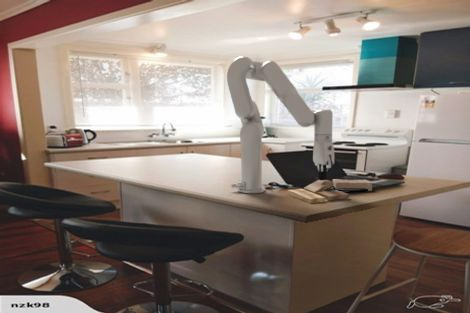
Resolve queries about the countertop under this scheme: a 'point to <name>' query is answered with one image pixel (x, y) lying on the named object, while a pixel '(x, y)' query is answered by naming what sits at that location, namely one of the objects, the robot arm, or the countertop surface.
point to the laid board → (306, 196)
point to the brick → (352, 184)
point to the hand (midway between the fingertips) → (322, 179)
